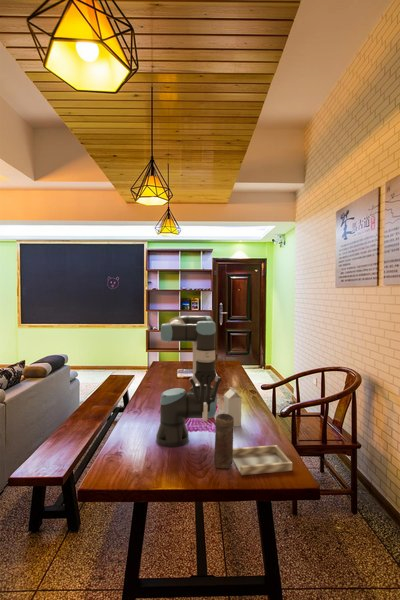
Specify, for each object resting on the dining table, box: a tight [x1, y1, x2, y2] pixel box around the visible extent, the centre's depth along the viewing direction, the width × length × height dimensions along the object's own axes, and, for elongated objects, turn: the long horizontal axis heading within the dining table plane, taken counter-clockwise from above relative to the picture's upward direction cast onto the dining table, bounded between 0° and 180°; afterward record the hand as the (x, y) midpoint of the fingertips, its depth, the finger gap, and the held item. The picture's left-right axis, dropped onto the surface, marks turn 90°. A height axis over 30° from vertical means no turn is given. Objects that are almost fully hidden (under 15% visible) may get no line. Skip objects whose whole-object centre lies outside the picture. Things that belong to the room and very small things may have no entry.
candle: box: [213, 412, 234, 469], centre depth 130 cm, size 8×7×20 cm
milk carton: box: [223, 386, 242, 428], centre depth 171 cm, size 7×7×19 cm
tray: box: [232, 444, 293, 476], centre depth 133 cm, size 21×15×3 cm
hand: (204, 419), depth 128 cm, fingers closed
